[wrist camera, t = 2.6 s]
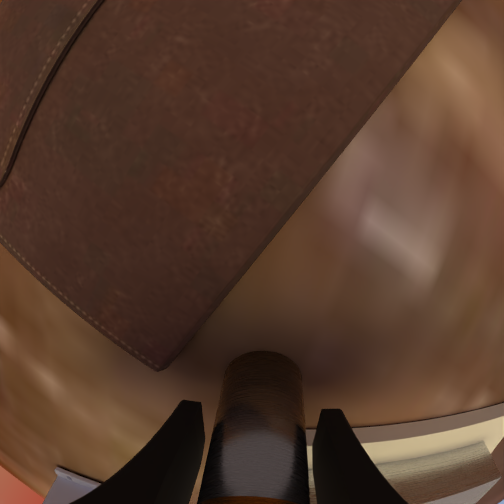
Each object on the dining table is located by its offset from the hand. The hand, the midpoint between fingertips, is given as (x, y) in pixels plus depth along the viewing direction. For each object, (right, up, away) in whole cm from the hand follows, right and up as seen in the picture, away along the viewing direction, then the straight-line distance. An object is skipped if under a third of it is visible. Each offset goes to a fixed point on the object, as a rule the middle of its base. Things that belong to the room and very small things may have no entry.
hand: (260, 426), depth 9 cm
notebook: (-4, +14, -1) cm, 14 cm away
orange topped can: (0, +1, +2) cm, 2 cm away
